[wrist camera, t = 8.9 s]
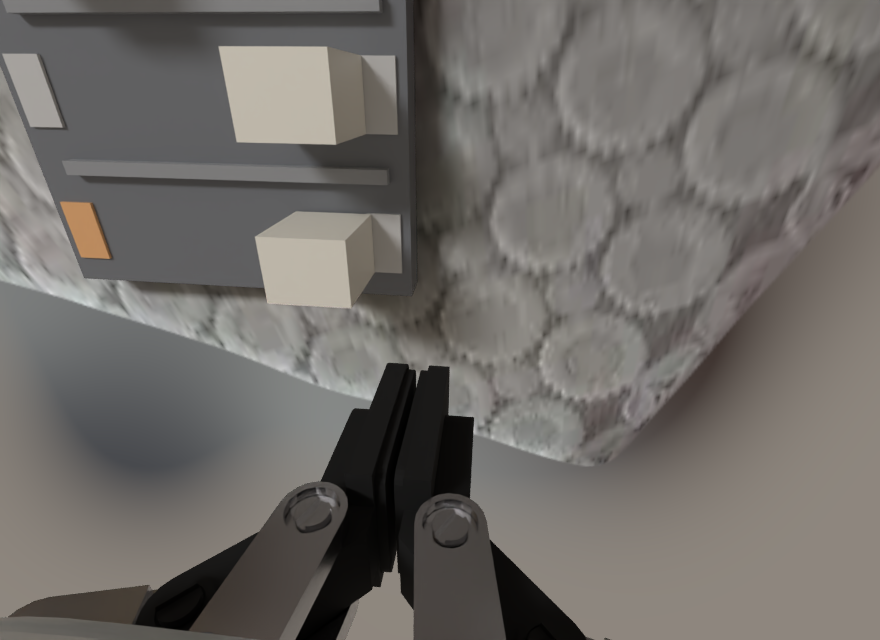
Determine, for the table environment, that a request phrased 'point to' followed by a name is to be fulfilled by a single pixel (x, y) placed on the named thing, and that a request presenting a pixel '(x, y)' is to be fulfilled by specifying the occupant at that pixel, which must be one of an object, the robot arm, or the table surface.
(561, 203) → the table surface
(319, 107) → the tab
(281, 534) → the robot arm
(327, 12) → the switch bank
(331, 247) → the tab
